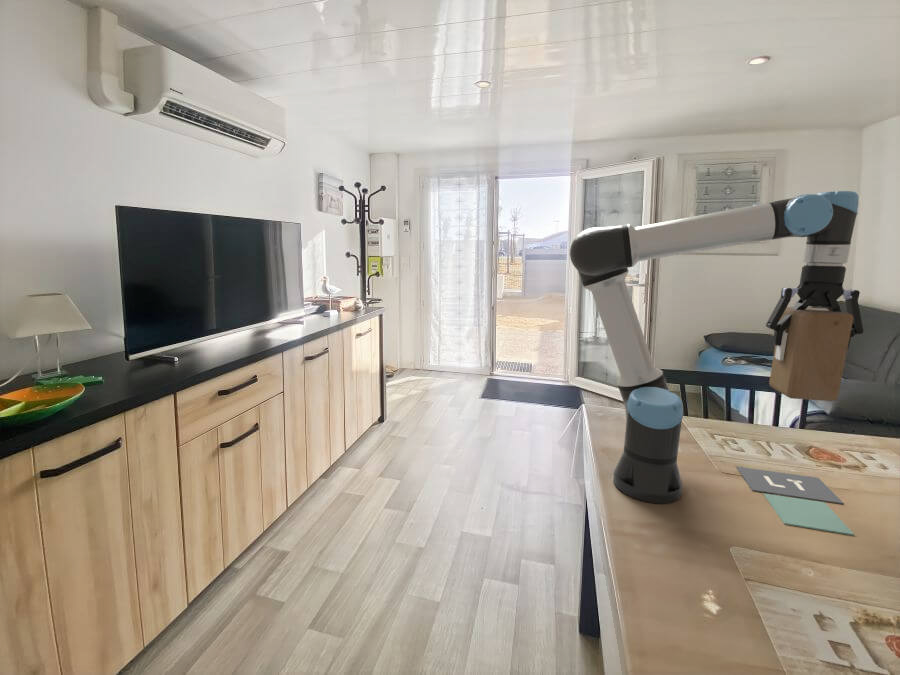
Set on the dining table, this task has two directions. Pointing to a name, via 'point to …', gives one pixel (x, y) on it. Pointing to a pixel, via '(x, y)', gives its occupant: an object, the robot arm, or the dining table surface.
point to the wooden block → (812, 354)
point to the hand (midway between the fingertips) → (806, 361)
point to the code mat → (788, 485)
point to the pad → (807, 514)
